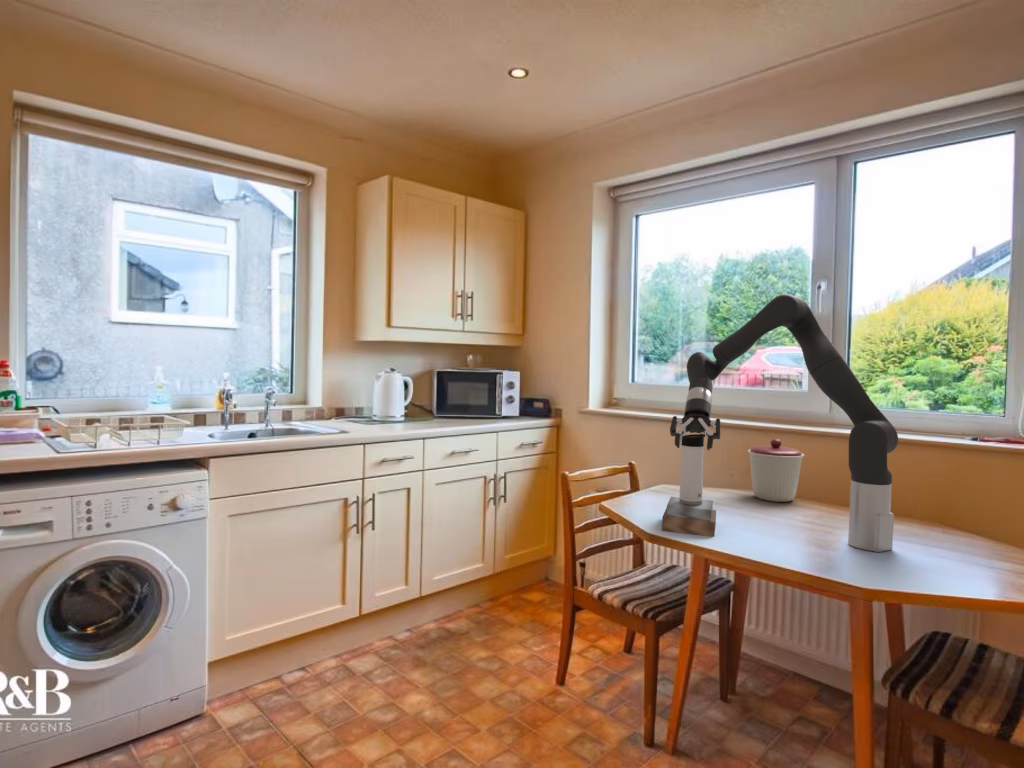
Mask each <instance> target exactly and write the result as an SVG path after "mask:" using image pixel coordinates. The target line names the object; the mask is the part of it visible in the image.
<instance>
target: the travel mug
mask: <svg viewBox="0 0 1024 768" xmlns="http://www.w3.org/2000/svg"><path fill="white" fill-rule="evenodd" d="M705 437H706V436H705V434H704V433H695V434H694V433H691V434H685V435H683V436H682V437H681V442H680V449H681V450H680V469H679V470H680V471H679V472H680V473H679V474H680V475H679V478H680V479H679V497H680V500H679V501H680V503H682V504H686V505H700V504H702V500H703V483H704V482H703V481H704V455H705V454H704V452H705V450H704V448H705V443H704V442H705Z"/></svg>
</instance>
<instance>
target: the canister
mask: <svg viewBox="0 0 1024 768" xmlns="http://www.w3.org/2000/svg"><path fill="white" fill-rule="evenodd" d="M769 444H770V445H756V446H752V447H751V448H750V449H747V453H749V461H750V462H749V463H750V474H751V475H750V476H751V485H752V492H753V494H754V496H755V497H756V498H758V499H760V500H763V501H768V502H775V503H787V502H791V501H793V500H794V498H795V497H796V495H797V489H798V486H799V485H798V484H799V480H800V479H799V478H800V473H801V467H802V460H803V458H804V457H805V454H804V453H803V452H801V451H800V450H798V449H797V448H792V447H788V446H782V441H781V439H778V438H773V439H771V440H770V443H769Z"/></svg>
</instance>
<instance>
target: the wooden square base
mask: <svg viewBox="0 0 1024 768" xmlns="http://www.w3.org/2000/svg"><path fill="white" fill-rule="evenodd" d="M679 500H680V496H670V498H669V500H668V502H667V504H666V508H665V510H664V512H663V514H662V521H661V523H662V524H661V527H662V528H661V531H662V532H663V531H664V532H670V533H678V534H690V535H698V536H707V537H715V534H716V533H715V532H716V524H717V509H714V508H713V507H714V506H713V505H714V500H712V499H711V500H710V499H702V504H700V505H686V504H682V503H680V501H679Z"/></svg>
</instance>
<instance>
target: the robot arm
mask: <svg viewBox="0 0 1024 768" xmlns="http://www.w3.org/2000/svg"><path fill="white" fill-rule="evenodd" d="M780 327H783V328H784V327H785V328H786V329H787V330H788V331H789V332H790V333H791V334H792V336H793V338H795V340H796V341H797V343H798V344H799V346H800V348H801V352H802V355H803V360H804V363H805V367H806V369H807V371H808V373H809V374H810V376H811V377H812V380H813V381H814V382H815V384H816V385H817V386H818V388H819V389H820V390H821V392H822V393H823V394H825V396H827V397H828V398H829V399H830V400H831V401H832V402H833V403H834V404H836V405H837V406H838V407H839V408H840V409H841V410H842V411H844V412H845V414H846V415H847V416H848V418H849V420H850V421H851V422H852V425H853V427H852V428H851V430H850V433H849V437H848V468H849V472H850V489H849V490H850V493H849V511H848V513H849V514H848V516H849V517H848V538H847V543H848V545H850V546H851V547H854V548H857V549H861V550H865V551H869V552H870V551H871V552H874V553H875V552H876V553H882V552H886V551H891V550H893V545H894V544H893V539H894V523H895V513H893V512H892V511H891V507H892V506H891V503H892V502H891V501H892V486H893V485H892V484H893V474H892V472H891V471H890V470H889V468H888V454H890V453H892V452H893V451H894V450H895V449H897V446H898V443H899V435H898V432H897V430H896V428H895V427H894V425H893V424H892V423H891V421H890V420H889V419H888V418H887V417H886V416H885V415H884V414H883V413H882V412H881V410H880V409H879V408H878V407H877V406H876V404H875V403H874V402H873V400H872V399H871V398H870V396H869V395H868V394H867V392H866V390H865V389H864V387H863V385H862V383H861V382H860V381H859V379H858V378H857V377H856V375H855V374H854V372H853V371H852V369H851V367H850V366H849V364H848V363H847V362H846V360H845V359H844V357H843V356H842V354H841V353H840V352H839V350H838V349H837V348H836V347H835V346H834V344H833V342H832V341H831V340H830V338H829V337H828V336H827V335H826V333H824V331H823V329H822V328H821V326H820V324H819V322H818V320H817V319H816V316H815V315H814V313H813V311H812V309H811V308H810V306H809V303H808V302H807V301H806V300H804V299H803V298H802V297H800V296H796V295H792V294H788V293H787V294H785V293H783V294H780V295H777V296H775V297H774V298H773V299H771V300H770V301H769V302H768V303H767V304H765V305H764V307H763V308H762V309H760V311H758V312H757V314H755V315H754V316H753V317H752V318H751V319H749V321H748V322H746V323H745V324H744V325H742V326H741V327H740V328H738V329H737V330H736V331H735V332H734V333H732V334H730V335H729V336H727V337H726V338H724V339H723V340H721V341H719V343H717V344H716V345H714V347H713V348H712V355H713V357H714V358H715V360H713V359H712V358H711V357H710V356H708V355H707V354H705V353H704V352H701V351H696V352H694V353H692V354H691V355H690V356H689V358H688V360H687V362H686V372H687V378H688V383H689V385H688V393H687V396H686V401H685V407H684V415H683V417H682V418H680V417H677V416H676V415H674V416H672V420H671V422H670V423H671V424H670V427H669V434H670V436H671V437H674V446H676V448H677V449H678V448H679V449H680V448H681V442H682V436H684V435H688V433H690V434H694V433H695V434H705V437H707V440H706V441H707V442H706V450H707V451H710V450H711V449H712V448H713V445H714V440H721V419H720V418H716V419H714V420H712V419H711V414H712V413H711V412H712V403H713V397H712V395H713V387H714V386H713V381H714V380H715V381H716V379H717V378H718V377H719V376H720V375H721V373H723V371H724V370H725V369H726V368H727V367H728V366H729V365H730V364H731V363H732V362H733V361H735V360H737V359H738V358H740V357H741V356H743V355H745V353H747V352H748V351H749V350H750V349H752V347H753V346H754V345H755V344H756V343H757V342H758V341H759V339H761V338H762V337H763V336H764V335H766V334H768V333H769V332H771V331H773V330H776V329H778V328H780ZM844 412H843V413H844ZM680 424H681V425H680ZM679 425H680V427H679V428H678V429H677V427H678V426H679ZM711 426H713V427H712V428H714V429H715V432H713V431H712V430H711V429H710V427H711Z"/></svg>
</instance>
